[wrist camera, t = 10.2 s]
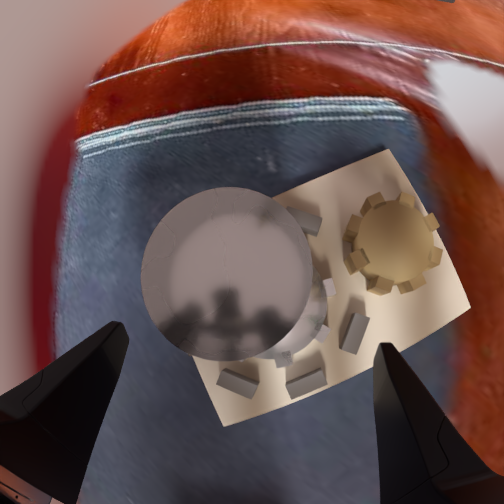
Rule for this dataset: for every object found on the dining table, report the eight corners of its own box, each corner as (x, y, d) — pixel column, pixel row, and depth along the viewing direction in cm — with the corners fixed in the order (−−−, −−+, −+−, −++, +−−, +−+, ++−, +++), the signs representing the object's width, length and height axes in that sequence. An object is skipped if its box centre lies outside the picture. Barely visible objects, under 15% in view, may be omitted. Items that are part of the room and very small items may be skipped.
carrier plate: (226, 422, 20) (214, 439, 16) (160, 255, 23) (138, 244, 20) (464, 308, 19) (488, 305, 15) (385, 155, 22) (396, 130, 19)
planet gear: (291, 386, 19) (276, 496, 6) (190, 322, 21) (42, 314, 7) (355, 282, 20) (447, 211, 6) (252, 223, 21) (187, 88, 8)
